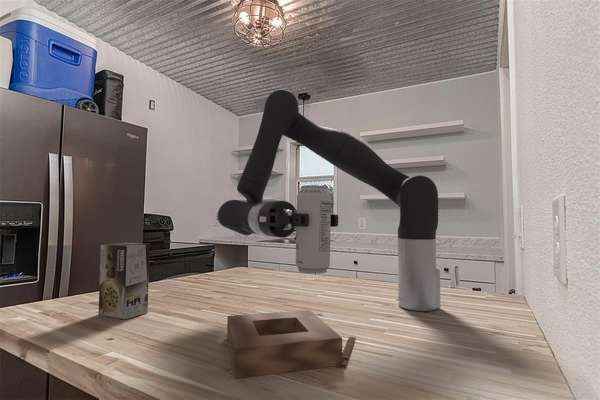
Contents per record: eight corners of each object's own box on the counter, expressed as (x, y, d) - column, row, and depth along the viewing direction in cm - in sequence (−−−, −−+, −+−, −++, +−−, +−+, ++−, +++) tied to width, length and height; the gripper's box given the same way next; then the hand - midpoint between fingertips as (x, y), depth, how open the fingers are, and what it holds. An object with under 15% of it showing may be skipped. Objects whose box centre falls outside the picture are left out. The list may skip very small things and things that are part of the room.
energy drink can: (303, 267, 62) (305, 188, 62) (334, 270, 59) (335, 187, 60) (289, 272, 56) (291, 185, 57) (322, 275, 54) (324, 184, 54)
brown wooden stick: (348, 335, 61) (356, 336, 60) (348, 340, 61) (356, 341, 60) (336, 363, 49) (345, 364, 48) (336, 369, 49) (345, 371, 48)
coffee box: (149, 312, 76) (151, 243, 77) (123, 320, 70) (126, 245, 71) (122, 308, 80) (125, 241, 81) (96, 315, 74) (99, 243, 75)
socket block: (309, 330, 65) (309, 309, 65) (342, 365, 49) (342, 337, 50) (227, 338, 60) (227, 315, 60) (234, 378, 45) (235, 348, 45)
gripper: (241, 199, 66) (288, 196, 52) (299, 202, 74) (352, 200, 60) (240, 237, 65) (287, 243, 52) (299, 235, 74) (352, 241, 60)
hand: (322, 220), depth 56 cm, fingers closed on energy drink can, 6 cm apart
